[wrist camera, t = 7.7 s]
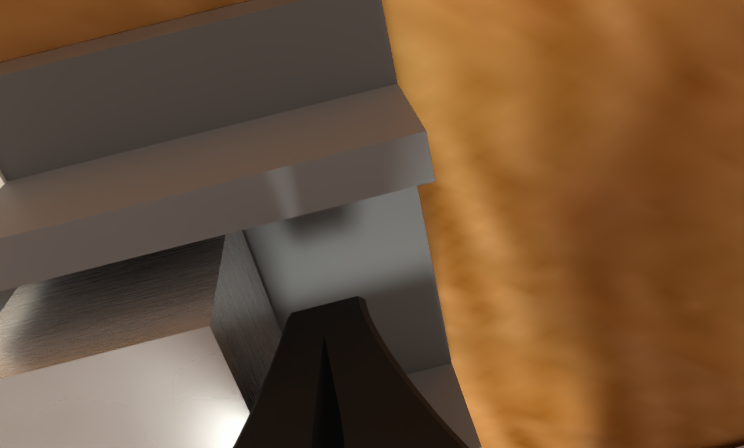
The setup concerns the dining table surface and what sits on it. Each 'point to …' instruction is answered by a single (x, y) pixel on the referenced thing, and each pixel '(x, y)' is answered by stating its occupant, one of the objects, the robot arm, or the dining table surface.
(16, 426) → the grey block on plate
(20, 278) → the gauge base
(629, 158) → the dining table surface
